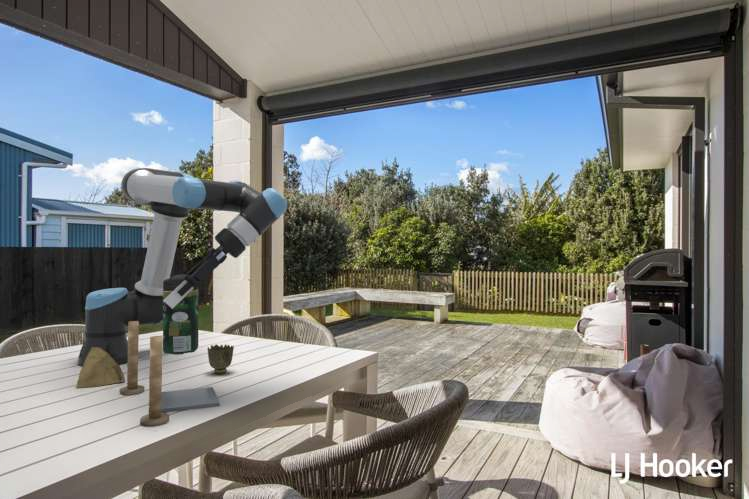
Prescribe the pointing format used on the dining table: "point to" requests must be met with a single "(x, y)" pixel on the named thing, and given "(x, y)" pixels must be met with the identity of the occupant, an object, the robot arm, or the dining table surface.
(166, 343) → the coffee jar
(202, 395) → the slate pad
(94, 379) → the rock
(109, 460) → the dining table surface
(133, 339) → the dowel
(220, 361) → the cup
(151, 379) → the dowel
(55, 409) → the dining table surface
